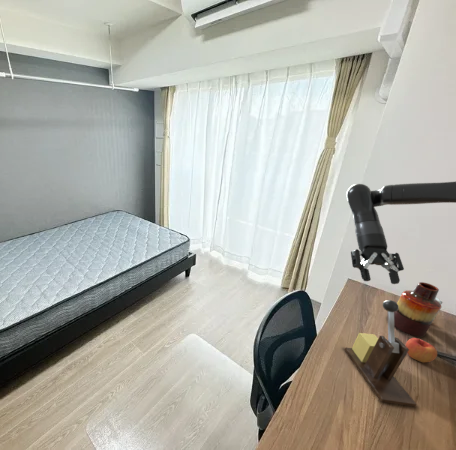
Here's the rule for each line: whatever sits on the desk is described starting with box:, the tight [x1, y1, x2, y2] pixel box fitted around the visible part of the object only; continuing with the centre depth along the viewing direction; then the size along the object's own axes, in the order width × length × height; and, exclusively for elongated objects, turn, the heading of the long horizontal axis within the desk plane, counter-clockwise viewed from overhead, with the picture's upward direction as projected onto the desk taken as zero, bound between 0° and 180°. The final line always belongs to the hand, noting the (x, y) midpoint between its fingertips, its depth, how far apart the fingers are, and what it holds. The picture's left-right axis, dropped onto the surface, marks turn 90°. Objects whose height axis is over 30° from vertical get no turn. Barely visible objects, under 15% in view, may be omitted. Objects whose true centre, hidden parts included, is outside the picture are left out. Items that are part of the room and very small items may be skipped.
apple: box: [405, 337, 438, 363], centre depth 84 cm, size 7×7×8 cm
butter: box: [352, 332, 379, 363], centre depth 82 cm, size 5×6×8 cm
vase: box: [394, 281, 442, 338], centre depth 96 cm, size 11×11×20 cm
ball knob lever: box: [382, 299, 399, 353], centre depth 75 cm, size 15×4×4 cm
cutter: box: [344, 335, 417, 407], centre depth 76 cm, size 18×9×15 cm, turn 173°
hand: (381, 282), depth 80 cm, fingers open, 8 cm apart
